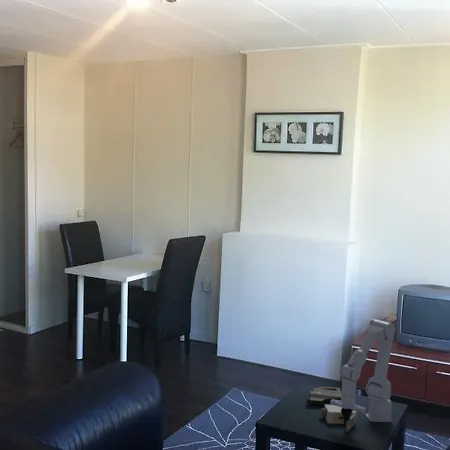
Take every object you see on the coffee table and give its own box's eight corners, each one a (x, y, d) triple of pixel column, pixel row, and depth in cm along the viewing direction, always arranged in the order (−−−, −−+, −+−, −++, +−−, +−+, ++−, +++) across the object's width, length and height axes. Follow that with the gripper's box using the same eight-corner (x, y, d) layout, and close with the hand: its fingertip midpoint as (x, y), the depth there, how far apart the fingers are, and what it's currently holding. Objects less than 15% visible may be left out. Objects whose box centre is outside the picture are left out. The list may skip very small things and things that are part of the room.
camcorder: (350, 407, 278) (351, 396, 278) (307, 407, 275) (307, 396, 274) (338, 394, 294) (339, 384, 294) (297, 394, 291) (298, 384, 291)
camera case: (350, 416, 268) (351, 405, 267) (355, 424, 259) (356, 412, 259) (319, 415, 267) (320, 404, 266) (323, 423, 258) (324, 412, 258)
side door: (353, 423, 259) (353, 413, 259) (356, 424, 259) (357, 414, 258) (345, 431, 250) (345, 421, 250) (348, 432, 250) (349, 422, 249)
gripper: (328, 392, 253) (326, 423, 254) (362, 400, 245) (359, 433, 246) (334, 387, 259) (332, 418, 260) (367, 395, 251) (365, 427, 252)
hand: (346, 425), depth 254 cm, fingers closed
